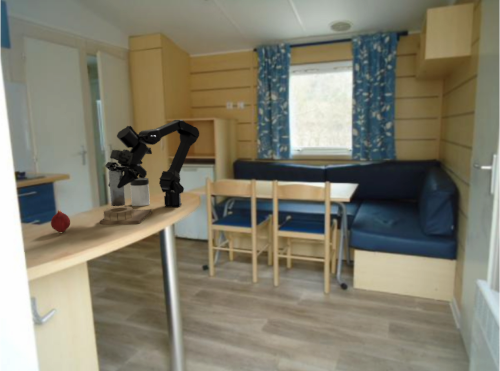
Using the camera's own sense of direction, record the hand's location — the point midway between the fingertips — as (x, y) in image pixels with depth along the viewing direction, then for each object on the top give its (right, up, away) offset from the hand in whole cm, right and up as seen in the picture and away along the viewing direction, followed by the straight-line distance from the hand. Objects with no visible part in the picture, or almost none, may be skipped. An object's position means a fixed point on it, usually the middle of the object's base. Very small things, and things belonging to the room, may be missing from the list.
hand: (113, 187), depth 134 cm
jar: (+1, -8, +31) cm, 32 cm away
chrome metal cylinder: (+1, -7, +2) cm, 7 cm away
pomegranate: (-13, -16, -12) cm, 24 cm away
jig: (+3, -12, +7) cm, 14 cm away
